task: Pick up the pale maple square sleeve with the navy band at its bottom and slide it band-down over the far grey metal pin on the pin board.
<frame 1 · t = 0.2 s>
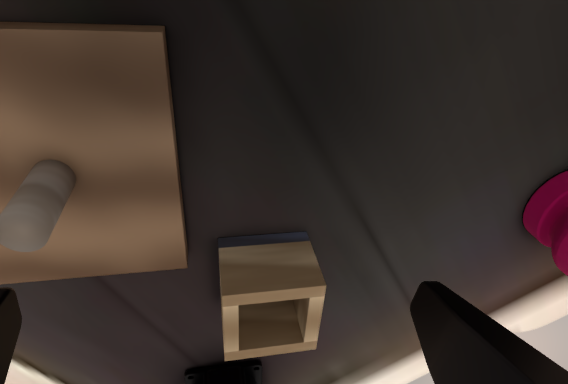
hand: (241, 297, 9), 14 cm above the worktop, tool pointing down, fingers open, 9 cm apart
sleeve: (261, 267, 28), on the worktop
pepper mill: (558, 201, 30), on the worktop
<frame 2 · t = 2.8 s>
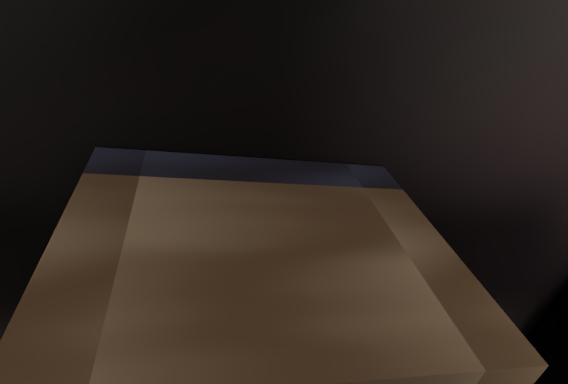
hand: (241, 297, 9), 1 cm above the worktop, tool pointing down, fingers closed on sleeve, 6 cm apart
sleeve: (237, 265, 10), on the worktop, touching gripper
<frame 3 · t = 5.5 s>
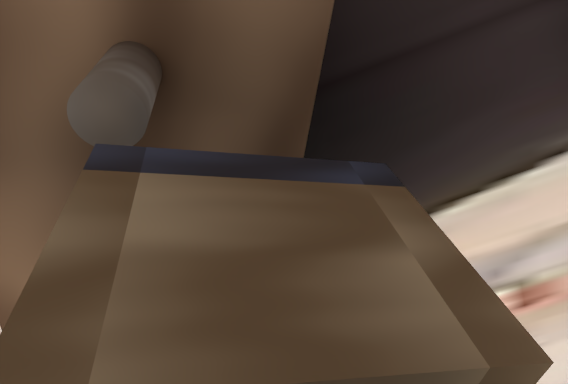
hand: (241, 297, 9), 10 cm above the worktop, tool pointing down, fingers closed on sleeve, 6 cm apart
sleeve: (238, 263, 10), point 9 cm above the worktop, touching gripper
pin board: (144, 187, 18), on the worktop
when the fingers open (5 cm above the worktop, at t = 8.3 s): sleeve drops 3 cm, resting on pin board.
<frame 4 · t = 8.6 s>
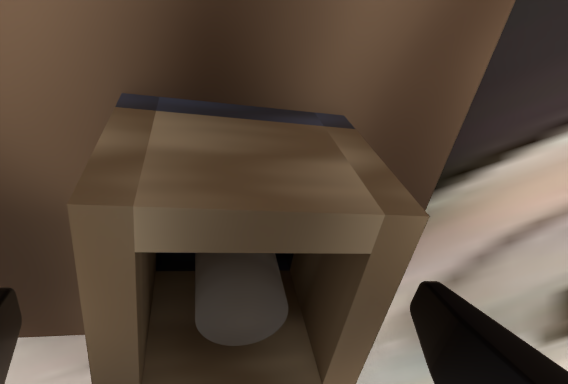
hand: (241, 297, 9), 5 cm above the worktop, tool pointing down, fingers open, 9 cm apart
sleeve: (229, 197, 12), point 1 cm above the worktop, touching pin board
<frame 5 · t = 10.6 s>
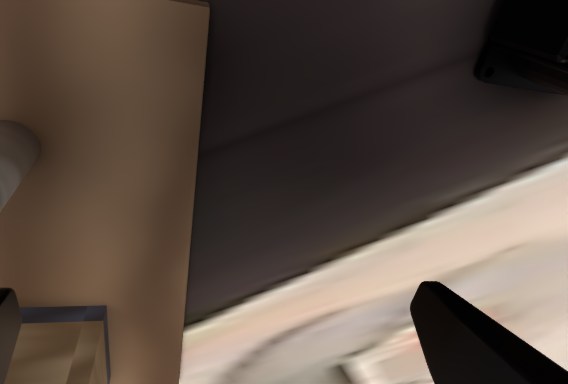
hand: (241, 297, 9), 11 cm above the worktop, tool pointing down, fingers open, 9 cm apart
sleeve: (48, 346, 21), point 1 cm above the worktop, touching pin board
pin board: (42, 242, 19), on the worktop
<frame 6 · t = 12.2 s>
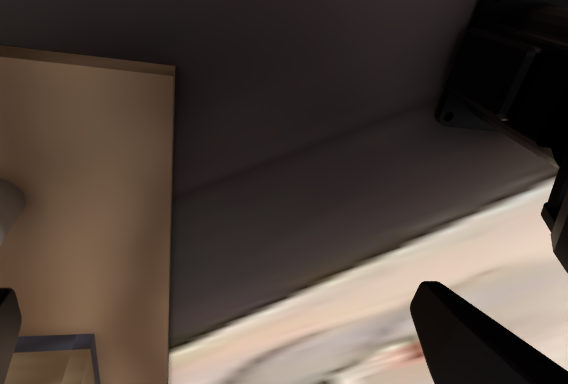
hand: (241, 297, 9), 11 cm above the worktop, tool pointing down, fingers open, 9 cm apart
sleeve: (42, 369, 22), point 1 cm above the worktop, touching pin board
pin board: (34, 276, 21), on the worktop
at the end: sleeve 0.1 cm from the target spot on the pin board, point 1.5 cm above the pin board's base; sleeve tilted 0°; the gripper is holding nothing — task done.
